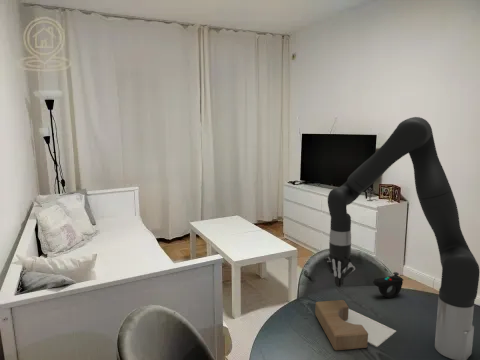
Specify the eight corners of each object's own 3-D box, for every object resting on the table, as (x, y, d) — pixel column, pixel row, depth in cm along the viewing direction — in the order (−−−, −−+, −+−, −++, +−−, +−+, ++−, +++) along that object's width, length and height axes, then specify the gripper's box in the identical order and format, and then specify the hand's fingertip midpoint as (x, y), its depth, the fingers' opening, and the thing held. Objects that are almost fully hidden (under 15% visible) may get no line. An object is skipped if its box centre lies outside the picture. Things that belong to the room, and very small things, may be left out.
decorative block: (344, 299, 128) (369, 333, 108) (343, 313, 129) (367, 348, 109) (315, 300, 127) (335, 335, 107) (314, 314, 128) (334, 351, 108)
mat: (396, 331, 117) (396, 330, 117) (377, 347, 110) (377, 346, 110) (347, 308, 132) (347, 307, 132) (327, 321, 125) (327, 320, 125)
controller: (404, 297, 140) (405, 274, 138) (377, 301, 137) (378, 278, 136) (397, 292, 144) (398, 270, 142) (371, 296, 142) (372, 273, 140)
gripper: (362, 243, 120) (360, 289, 123) (331, 234, 130) (330, 276, 133) (350, 248, 116) (348, 296, 119) (318, 239, 126) (318, 282, 129)
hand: (338, 285), depth 126 cm, fingers closed
